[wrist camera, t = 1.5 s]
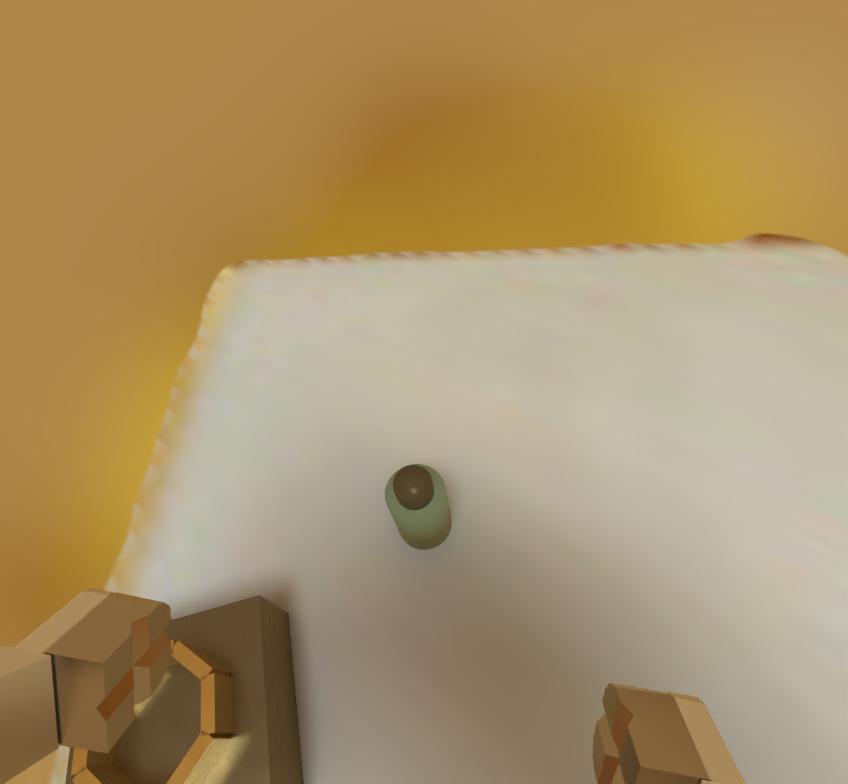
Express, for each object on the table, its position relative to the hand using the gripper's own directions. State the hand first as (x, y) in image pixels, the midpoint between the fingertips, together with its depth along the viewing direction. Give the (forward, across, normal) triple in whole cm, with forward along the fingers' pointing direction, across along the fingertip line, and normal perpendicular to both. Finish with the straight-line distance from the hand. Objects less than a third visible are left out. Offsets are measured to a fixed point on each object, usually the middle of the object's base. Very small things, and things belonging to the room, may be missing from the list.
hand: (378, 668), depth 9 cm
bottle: (+31, +1, +14) cm, 34 cm away
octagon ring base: (+20, +13, +26) cm, 35 cm away
